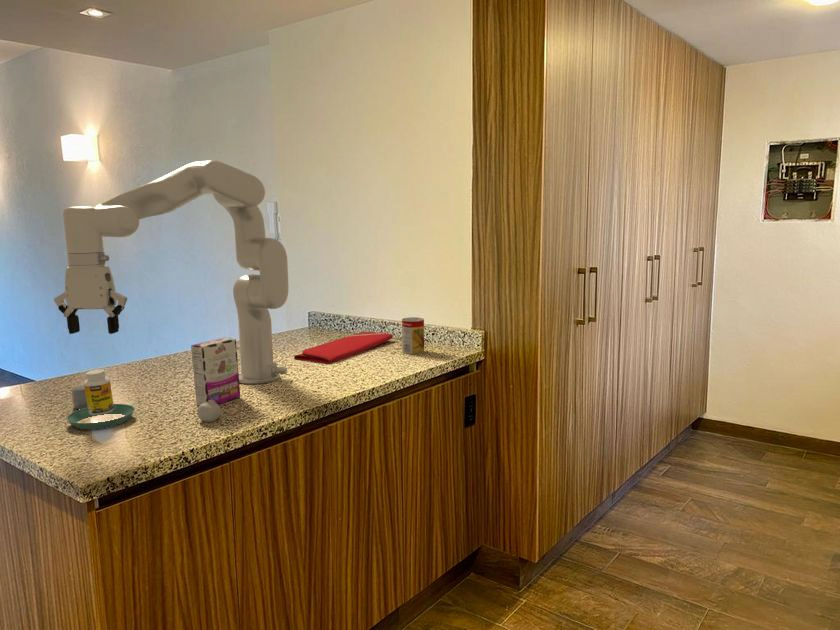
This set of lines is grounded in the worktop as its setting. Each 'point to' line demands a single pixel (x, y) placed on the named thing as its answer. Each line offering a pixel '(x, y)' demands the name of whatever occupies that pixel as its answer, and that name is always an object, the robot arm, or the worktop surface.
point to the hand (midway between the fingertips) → (94, 332)
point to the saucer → (84, 413)
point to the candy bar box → (216, 371)
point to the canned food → (413, 335)
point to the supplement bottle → (98, 393)
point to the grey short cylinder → (79, 397)
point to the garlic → (209, 411)
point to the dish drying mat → (343, 347)
